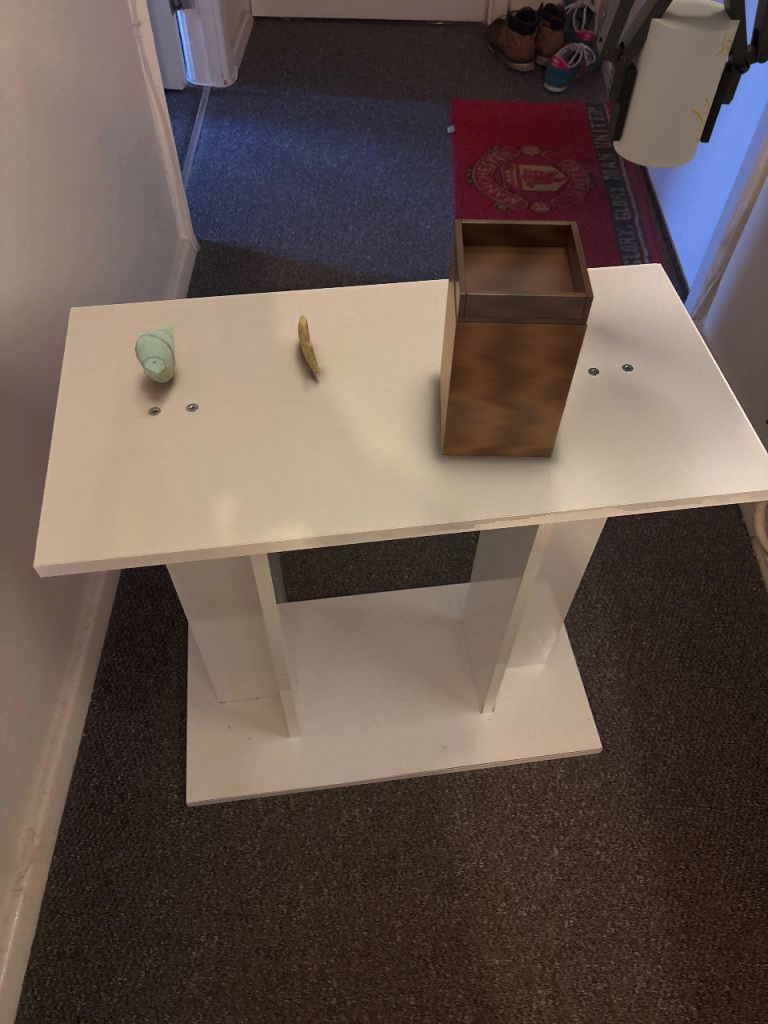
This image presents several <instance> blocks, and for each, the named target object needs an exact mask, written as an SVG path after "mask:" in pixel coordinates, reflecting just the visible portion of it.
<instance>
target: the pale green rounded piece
mask: <svg viewBox="0 0 768 1024" xmlns="http://www.w3.org/2000/svg"><path fill="white" fill-rule="evenodd" d="M174 327H175V326H159V327H158V328H157V329H155V330H152V331H151V330H149V331H148V330H147V331H144V332H143V333H141V334H140V335H139V336H138V338H137V340H136V342H135V347H134V352H135V355H136V356H135V357H136V359H137V361H138V363H139V364H140V365H141V367H142V369H143V370H144V374H145V375H147V376H149V377H150V378H151V379H152V380H154V381H155V382H158V383H161V384H163V383H168V382H169V381H170V379H172V377H173V374H174V373H175V368H176V349H175V331H174V330H175V328H174Z"/></svg>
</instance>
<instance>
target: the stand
mask: <svg viewBox="0 0 768 1024" xmlns="http://www.w3.org/2000/svg"><path fill="white" fill-rule="evenodd" d="M450 249H451V250H450V260H449V261H450V262H449V271H448V282H447V294H446V304H445V305H446V306H445V315H444V325H443V326H444V327H443V337H442V350H441V360H440V370H439V371H440V373H439V393H440V394H439V399H440V403H439V404H440V427H441V428H440V430H441V431H440V432H441V454H442V455H450V456H451V455H455V456H458V455H459V456H495V457H496V456H499V457H500V456H501V457H502V456H503V457H506V456H507V457H547V458H548V457H552V455H553V451H554V447H555V445H556V441H557V436H558V433H559V430H560V426H561V424H562V419H563V415H564V411H565V408H566V404H567V400H568V397H569V393H570V390H571V387H572V383H573V379H574V375H575V372H576V369H577V365H578V361H579V358H580V355H581V350H582V347H583V343H584V340H585V337H586V333H587V330H588V323H587V324H586V325H577V324H527V323H477V322H457V313H456V296H455V278H454V261H453V246H451V248H450Z"/></svg>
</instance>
